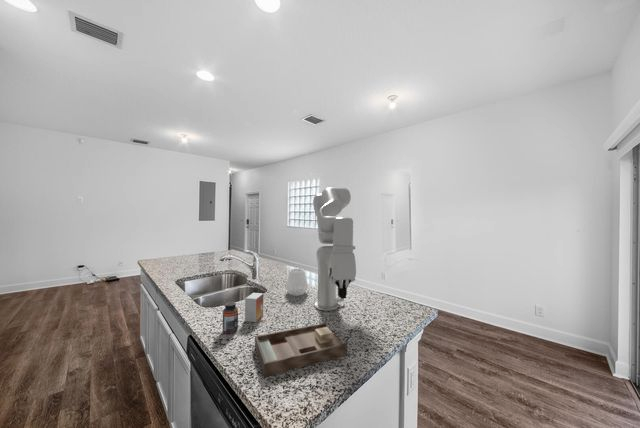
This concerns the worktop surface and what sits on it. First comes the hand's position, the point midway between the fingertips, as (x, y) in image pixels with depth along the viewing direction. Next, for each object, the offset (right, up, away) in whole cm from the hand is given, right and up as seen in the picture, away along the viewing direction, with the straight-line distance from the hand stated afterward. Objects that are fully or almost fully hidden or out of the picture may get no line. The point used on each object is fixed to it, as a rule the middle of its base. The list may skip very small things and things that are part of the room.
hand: (342, 297), depth 94 cm
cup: (-23, -16, +54) cm, 61 cm away
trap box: (-15, -17, -6) cm, 24 cm away
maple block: (-7, -15, -2) cm, 17 cm away
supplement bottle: (-46, -17, +8) cm, 49 cm away
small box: (-39, -17, +20) cm, 47 cm away
